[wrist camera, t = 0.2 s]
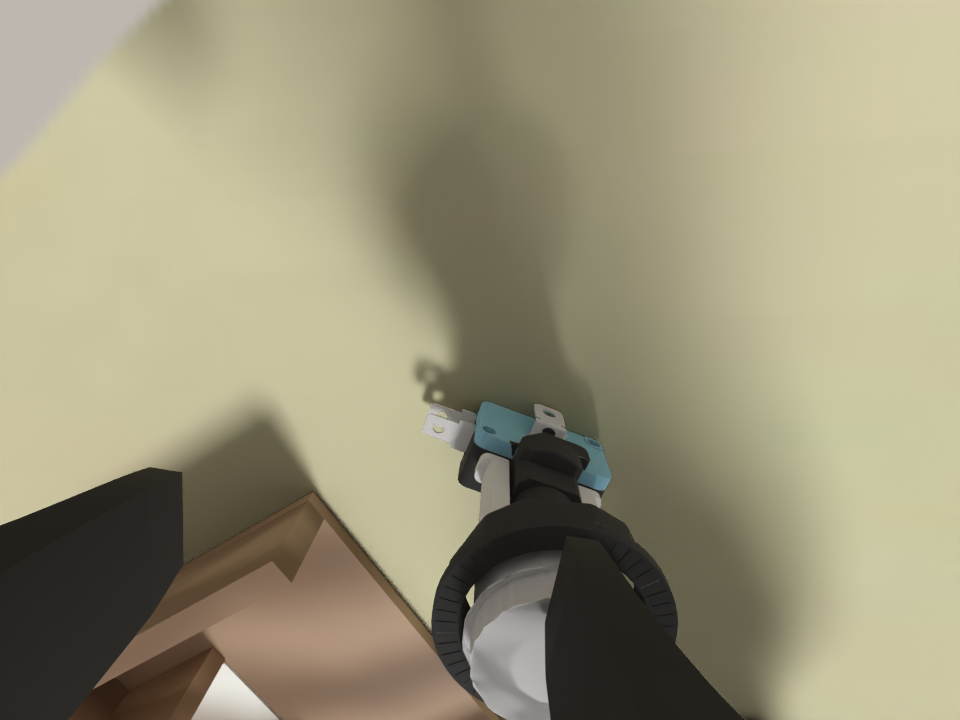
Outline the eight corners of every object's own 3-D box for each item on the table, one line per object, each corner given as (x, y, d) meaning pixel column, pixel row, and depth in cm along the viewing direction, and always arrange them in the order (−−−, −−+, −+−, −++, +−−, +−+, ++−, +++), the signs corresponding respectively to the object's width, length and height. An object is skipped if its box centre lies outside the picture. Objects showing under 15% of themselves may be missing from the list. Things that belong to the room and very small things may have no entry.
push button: (408, 463, 21) (331, 699, 12) (456, 337, 20) (411, 496, 10) (569, 520, 22) (620, 791, 12) (630, 403, 20) (742, 612, 11)
